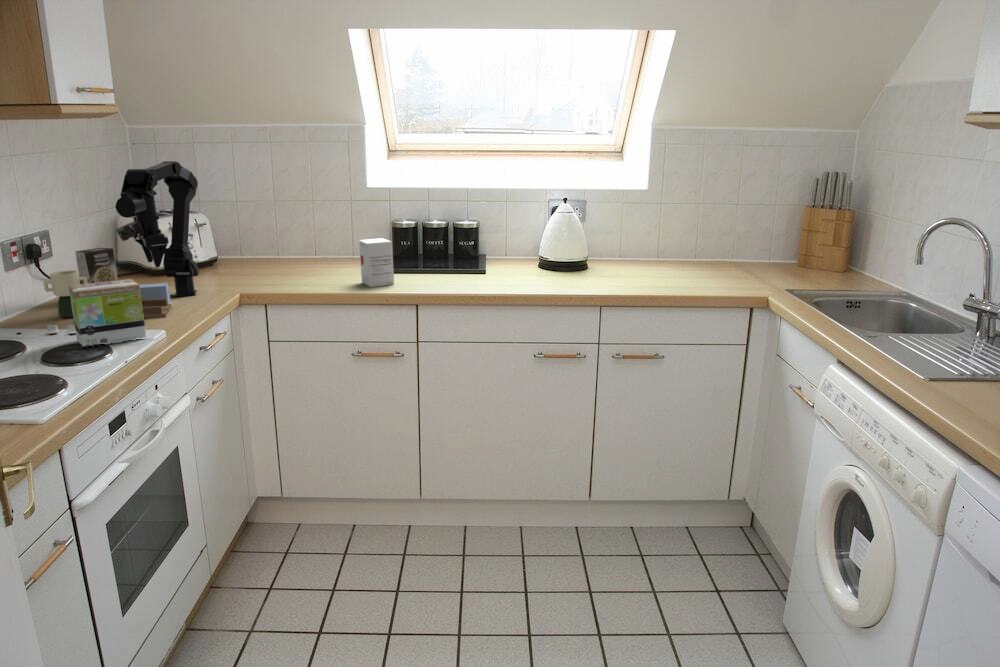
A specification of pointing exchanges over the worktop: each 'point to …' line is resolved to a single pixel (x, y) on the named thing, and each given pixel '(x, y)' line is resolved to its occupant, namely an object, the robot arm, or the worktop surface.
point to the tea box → (107, 312)
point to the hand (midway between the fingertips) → (154, 264)
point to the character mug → (63, 289)
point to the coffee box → (96, 265)
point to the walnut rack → (155, 308)
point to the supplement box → (376, 262)
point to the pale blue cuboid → (155, 291)
